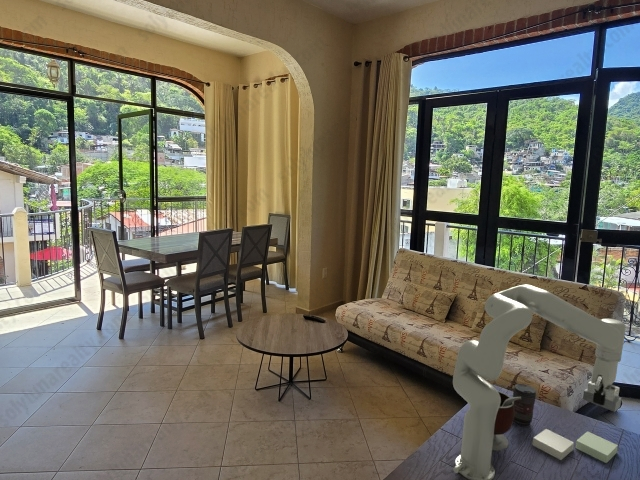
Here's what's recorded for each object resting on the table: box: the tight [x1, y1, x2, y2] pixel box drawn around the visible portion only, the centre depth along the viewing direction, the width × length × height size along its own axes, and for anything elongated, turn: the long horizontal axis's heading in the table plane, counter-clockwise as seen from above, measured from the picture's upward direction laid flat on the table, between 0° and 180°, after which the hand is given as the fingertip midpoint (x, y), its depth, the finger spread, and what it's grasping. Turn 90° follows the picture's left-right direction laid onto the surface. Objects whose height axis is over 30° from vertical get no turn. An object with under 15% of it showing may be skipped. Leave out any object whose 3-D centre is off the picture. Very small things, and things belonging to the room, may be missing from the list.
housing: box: [582, 380, 622, 413], centre depth 147 cm, size 10×6×7 cm, turn 37°
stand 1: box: [532, 428, 575, 461], centre depth 151 cm, size 10×10×3 cm
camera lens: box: [512, 383, 537, 428], centre depth 166 cm, size 8×8×15 cm
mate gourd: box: [492, 390, 521, 452], centre depth 153 cm, size 16×14×20 cm
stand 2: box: [575, 430, 619, 464], centre depth 150 cm, size 10×10×3 cm
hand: (601, 400), depth 148 cm, fingers closed on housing, 5 cm apart
